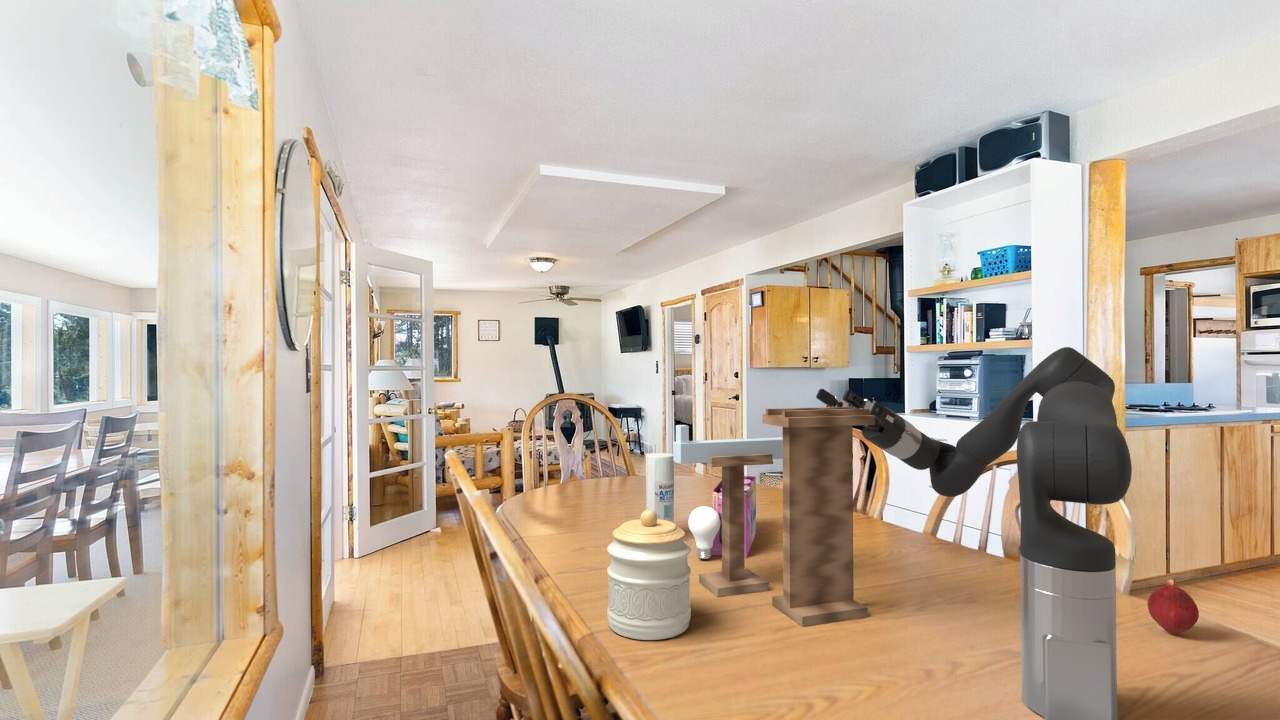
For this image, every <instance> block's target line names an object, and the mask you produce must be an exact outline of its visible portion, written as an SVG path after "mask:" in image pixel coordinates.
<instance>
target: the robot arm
mask: <svg viewBox="0 0 1280 720" xmlns="http://www.w3.org/2000/svg"><path fill="white" fill-rule="evenodd" d="M1115 390H1116V384H1115V382H1114V380H1113V379H1112V377H1110V376H1109V374H1108V373H1107V372H1105V371H1104V370H1102V369H1101V367H1099V366H1097V365H1096V364H1095V363H1094V362H1092V361H1091V360H1089V358H1087V357H1086V356H1084V355H1083V354H1082V353H1080V352H1079V351H1078V350H1076V349H1075V348H1073V347H1069V346H1064V347H1061V348H1059V349H1057V350H1055V351H1053V352H1052V353H1051V354H1049V355H1048V356H1047V357H1045V358H1044V359H1043V360H1041V361H1040V362H1039V363H1038V364H1037V365H1036V366H1035V367H1034V368H1033V369H1032V370H1031V371H1030V372H1029V373H1028V374H1027V375H1026V376H1025V377H1024V378H1022V380H1021V381H1020V382H1019V383H1018V384H1017V385H1016V386H1015V387H1014V388H1013V389H1012V390H1011V391H1010V392H1009V393H1007V395H1006V396H1005V397H1004V398H1003V399H1002V400H1001V401H1000V402H999V403H998V404H997V405H996V406H995V408H994V409H993V410H992V411H991V412H990V413H989V414H988V415H987V416H986V417H985V418H984V419H982V420H981V421H980V422H979V423H978V424H976V425H975V426H973V427H972V428H971V429H970V430H968V431H967V432H966V433H964V435H962V436H961V437H960V438H959V439H958V441H957V442H956V445H953V444H950V443H947V442H943V441H940V440H937V439H933V438H931V437H929V436H928V435H926V434H925V433H923V432H922V431H920V430H919V429H917V428H916V427H915V425H913V424H912V423H911V422H909V421H908V420H907V419H905V418H904V417H902V416H901V415H899V414H897V412H894V411H893V410H892V409H890V408H889V407H887V406H883V405H882V404H881V403H879V402H878V401H877V400H872V401H870V400H869V399H868V398H863V397H861V396H860V395H858V394H857V393H855V392H854V391H853V390H850V389H846V390H845V391H844V394H843V396H842V399H841V398H839V397H836V396H835V395H833V394H831V392H829V391H827V390H826V389H824V388H819V389H818V391H817V394H816V397H815V398H816V399H817V400H819V401H820V402H822V404H825V405H826V406H825V407H851V409H870V415H875V425H860V429H861V431H860V432H861V435H862V437H863V438H864V439H865V440H866V441H868V442H870V443H871V444H873V445H874V446H876V447H878V449H880V450H882V451H884V452H885V453H887V454H888V455H890V456H892V457H894V458H896V459H898V460H900V461H901V462H903V463H904V464H906V465H908V466H909V467H911V468H913V469H915V470H918V471H924V470H927V469H928V470H929V477H930V478H929V479H930V483H931V487H932V489H933V490H934V492H935V493H937V494H938V495H939V496H943V497H947V498H954V497H957V496H961V495H963V494H964V493H966V492H968V491H969V490H970V489H971V488H972V487H973V486H974V484H975V483H976V482H977V480H978V479H979V478H980V477H981V475H983V473H984V472H985V470H986V469H987V467H988V466H989V465H990V464H992V463H993V462H995V461H996V460H998V459H999V458H1001V457H1002V456H1003V455H1005V454H1006V453H1007V452H1009V451H1010V450H1011V449H1012V447H1014V446H1015V444H1016V466H1017V467H1016V468H1017V469H1016V470H1017V476H1018V477H1017V478H1018V479H1017V480H1018V493H1019V505H1020V546H1019V548H1020V550H1019V551H1020V552H1019V553H1020V554H1019V556H1020V557H1019V558H1020V570H1019V571H1020V583H1019V584H1020V657H1021V658H1020V660H1021V661H1020V662H1021V663H1020V665H1021V699H1022V701H1023V703H1024V704H1025V705H1026V707H1027V708H1028V709H1030V710H1032V711H1033V712H1035V713H1037V714H1038V715H1039V716H1041V717H1042V718H1043V719H1044V720H1118V676H1117V675H1118V673H1117V672H1118V670H1117V669H1118V668H1117V667H1118V664H1117V663H1118V662H1117V661H1118V660H1117V659H1118V657H1117V581H1116V580H1117V577H1116V576H1117V574H1116V573H1117V572H1116V571H1117V570H1116V569H1117V567H1116V564H1117V563H1116V557H1117V553H1116V548H1115V544H1114V542H1112V541H1111V540H1110V539H1109V538H1108V537H1106V536H1104V535H1102V534H1101V533H1098V532H1096V531H1094V530H1091V529H1089V528H1087V527H1083V526H1082V525H1079V524H1077V523H1075V522H1073V521H1070V520H1069V519H1067V518H1066V517H1064V516H1063V515H1062V514H1060V513H1059V512H1057V511H1056V509H1054V507H1053V506H1052V504H1051V502H1052V501H1057V502H1065V503H1074V504H1075V503H1076V504H1085V505H1086V504H1088V505H1098V506H1100V505H1111V504H1116V503H1118V502H1119V501H1121V500H1122V499H1123V498H1124V497H1125V496H1126V494H1127V493H1128V491H1129V488H1130V486H1131V481H1132V473H1133V472H1132V471H1133V467H1132V466H1133V465H1132V458H1131V453H1130V449H1129V446H1128V442H1127V441H1126V438H1125V436H1124V434H1123V432H1122V431H1121V429H1120V427H1119V426H1118V419H1117V413H1116V409H1115V407H1114V404H1113V398H1114V396H1115V395H1114V394H1115ZM1035 394H1038V395H1039V396H1041V397H1042V398H1041V399H1040V403H1039V405H1038V411H1037V416H1036V417H1037V418H1036V419H1037V420H1036V421H1032V420H1031V421H1028V422H1025V423H1024V424H1023V425H1022V423H1023V422H1022V421H1023V417H1024V412H1025V410H1026V406H1027V405H1028V403H1029V401H1030V400H1031V398H1032V397H1033V396H1034V395H1035Z"/></svg>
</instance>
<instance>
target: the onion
mask: <svg viewBox="0 0 1280 720" xmlns="http://www.w3.org/2000/svg"><path fill="white" fill-rule="evenodd" d="M1147 608H1148V613H1149V615H1150V616H1151V618H1152V620H1153V621H1154V622H1156V624H1158V626H1160V627H1161V628H1163V630H1165V631H1166V632H1167V633H1169V634H1171V635H1178V634H1180V633H1184V632H1186V631H1188V630H1190V629H1192V628H1193V627H1194V626H1195V625H1196V624H1197V623H1198V621H1199V615H1200V614H1199V612H1200V611H1199V609H1198V605H1197V604H1196V602H1195V600H1194V599H1193V598H1192V596H1190V594H1189V593H1187V592H1186V591H1185V590H1184V589H1182V588H1181V587H1179V586H1178V585H1177V581H1175V580H1174V579H1171V578H1170V579H1169V580H1167V583H1166V584H1165V585H1164V586H1161V587H1158V588H1157V589H1155V590H1153V591H1152V592H1151V594H1150V595H1149V597H1148V598H1147Z"/></svg>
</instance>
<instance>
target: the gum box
mask: <svg viewBox="0 0 1280 720" xmlns="http://www.w3.org/2000/svg"><path fill="white" fill-rule="evenodd" d="M756 479H757V477H756V476H755V475H754V476H752V475H751V476H750V475H744V559H746V558H747V557H748V554H749V553H750V550H751V547H752V544H753V542H754V539H755V536H756V534H757V491H756V490H757V485H756V483H757V481H756ZM711 508H712V509H714V510H715V511H716V512H717V514H718V515H719V518H720V528H719V531H718V533H717V534H716V536H715V538H714V540H713V546H712V548H711V550H712V551H711V552H712V553H711V554H712V555H711V556H721V557H722V479H721V480H720V481H719V483H718V484H717V485H716V486H715V487H714V488H713V490H712V493H711Z"/></svg>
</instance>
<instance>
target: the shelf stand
mask: <svg viewBox="0 0 1280 720" xmlns="http://www.w3.org/2000/svg"><path fill="white" fill-rule="evenodd" d="M761 416H762V417H761V419H762V422H761V423H762V424H763V425H770V426H775V427H781V428H782V437H783V459H782V561H783V562H782V576H783V578H782V579H783V581H782V583H783V584H782V587H783V590H782V593H783V595H782V594H781V595H774V596H772V601H771V602H772V603H771V605H772V607H774V608H775V609H777V610H778V611H780V613H782V614H784V615H785V616H787V618H790V619H791V620H793V621H794V622H795V623H797V624H798V625H799V626H800V627H808V626H814V625H816V626H817V625H821V624H828V623H834V622H835V623H836V622H841V621H848V620H854V619H860V618H861V619H862V618H868V617H869V615H868V611H869V609H868V606H866V605H864V604H862V603H861V602H858V600H855V598H854V595H855V593H854V590H855V589H854V587H855V586H854V579H855V578H854V457H853V456H854V453H853V450H854V449H853V447H854V445H853V443H854V441H853V440H854V439H853V437H854V436H853V435H854V434H853V433H854V432H853V430H854V427H853V426H861V425H875V415H870V409H851V407H850V406H847V407H837V406H836V407H826V406H825V407H786V408H765V414H762V415H761Z"/></svg>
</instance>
